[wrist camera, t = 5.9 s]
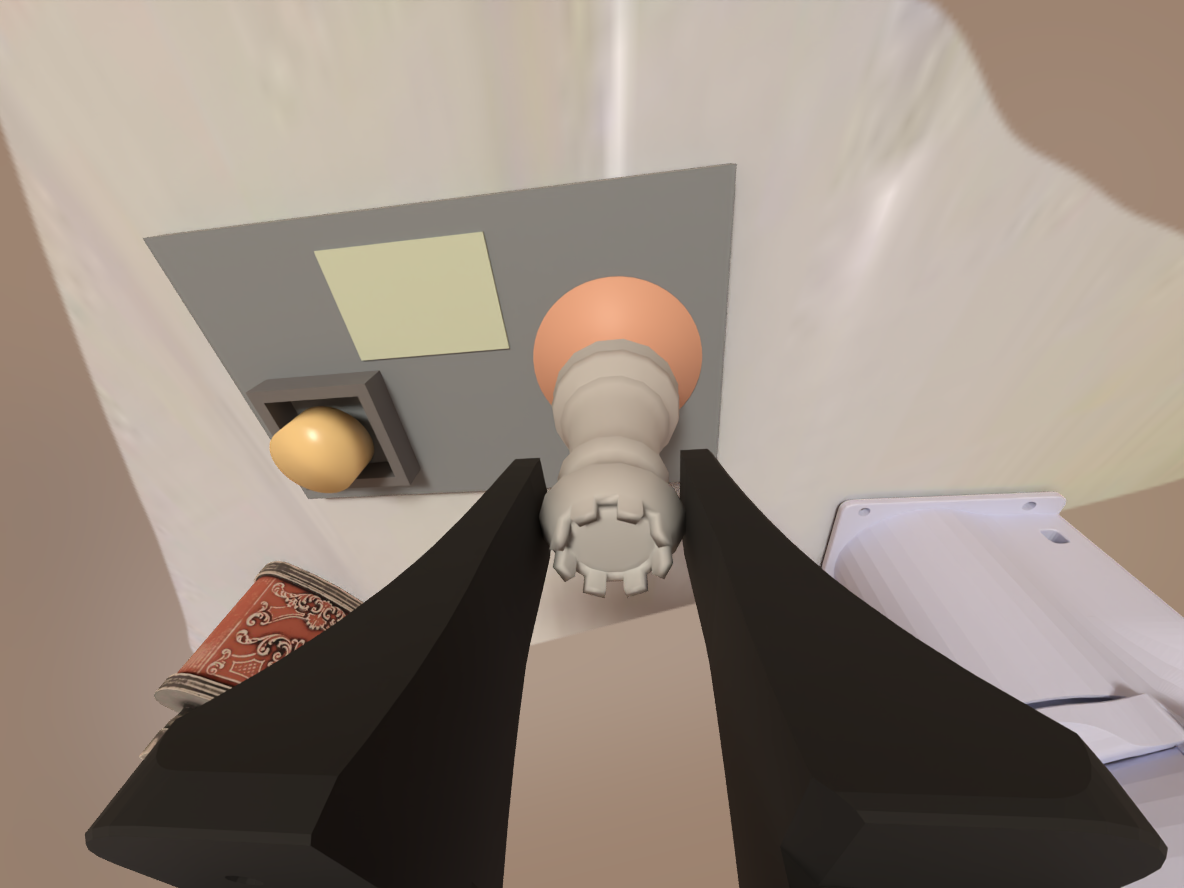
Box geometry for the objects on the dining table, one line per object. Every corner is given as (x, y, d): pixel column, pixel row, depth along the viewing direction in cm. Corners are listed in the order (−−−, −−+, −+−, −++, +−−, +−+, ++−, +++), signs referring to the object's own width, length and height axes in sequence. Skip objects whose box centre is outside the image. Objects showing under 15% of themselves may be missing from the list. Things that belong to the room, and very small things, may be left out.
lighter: (254, 575, 27) (89, 764, 18) (278, 553, 25) (111, 746, 17) (366, 635, 30) (267, 819, 22) (393, 618, 28) (298, 808, 20)
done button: (355, 403, 17) (332, 424, 16) (385, 467, 19) (367, 491, 17) (281, 408, 17) (253, 429, 16) (318, 471, 19) (295, 494, 18)
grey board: (731, 163, 13) (746, 164, 12) (712, 469, 20) (720, 498, 18) (163, 234, 15) (107, 244, 14) (317, 488, 22) (293, 515, 20)
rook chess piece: (688, 432, 16) (738, 610, 9) (577, 458, 17) (546, 639, 10) (662, 317, 14) (702, 438, 7) (536, 354, 15) (464, 493, 8)
